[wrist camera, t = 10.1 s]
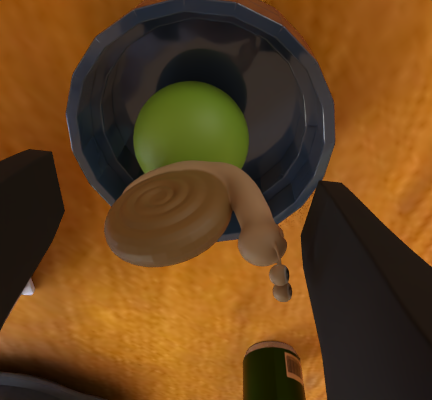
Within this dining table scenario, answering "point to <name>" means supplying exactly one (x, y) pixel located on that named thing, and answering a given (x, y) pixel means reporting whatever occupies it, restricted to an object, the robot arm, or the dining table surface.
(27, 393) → the casserole
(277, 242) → the snail figurine
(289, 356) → the beer can
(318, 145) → the bowl
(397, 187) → the dining table surface
